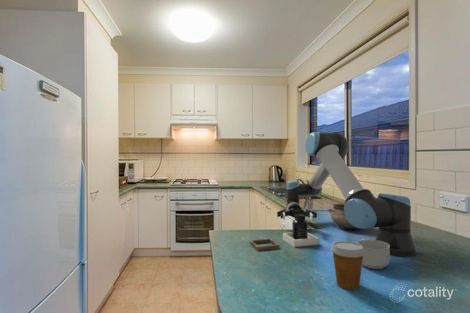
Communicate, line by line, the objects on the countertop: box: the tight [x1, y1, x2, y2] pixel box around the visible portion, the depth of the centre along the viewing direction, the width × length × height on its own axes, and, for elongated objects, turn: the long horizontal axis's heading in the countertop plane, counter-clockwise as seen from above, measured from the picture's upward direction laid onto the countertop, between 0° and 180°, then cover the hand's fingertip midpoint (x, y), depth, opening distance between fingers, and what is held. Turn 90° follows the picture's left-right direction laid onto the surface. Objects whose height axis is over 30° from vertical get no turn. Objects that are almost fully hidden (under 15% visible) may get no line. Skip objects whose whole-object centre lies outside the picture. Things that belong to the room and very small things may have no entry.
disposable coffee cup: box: [330, 240, 365, 291], centre depth 85 cm, size 10×10×12 cm
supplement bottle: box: [291, 214, 309, 240], centre depth 128 cm, size 7×7×12 cm
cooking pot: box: [327, 202, 358, 231], centre depth 152 cm, size 25×19×12 cm
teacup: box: [355, 238, 391, 270], centre depth 101 cm, size 14×11×8 cm
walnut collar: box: [249, 238, 281, 252], centre depth 122 cm, size 10×10×2 cm
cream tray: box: [282, 231, 320, 248], centre depth 128 cm, size 12×12×3 cm
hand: (298, 217), depth 138 cm, fingers open, 13 cm apart
